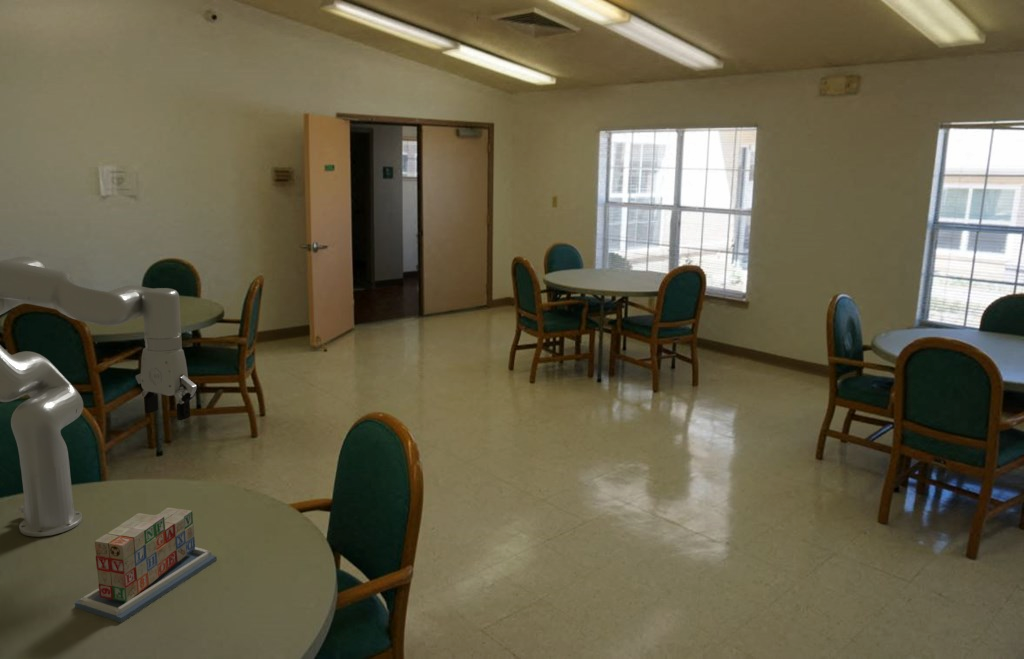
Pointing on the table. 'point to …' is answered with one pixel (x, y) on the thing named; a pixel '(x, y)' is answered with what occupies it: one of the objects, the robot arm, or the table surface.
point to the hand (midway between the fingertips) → (167, 415)
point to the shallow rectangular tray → (148, 588)
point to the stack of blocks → (142, 551)
